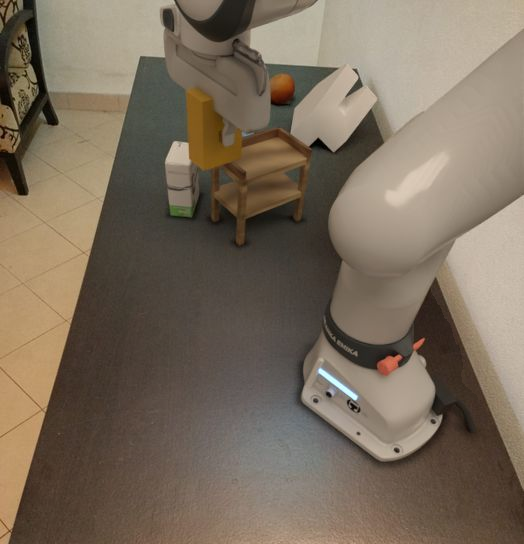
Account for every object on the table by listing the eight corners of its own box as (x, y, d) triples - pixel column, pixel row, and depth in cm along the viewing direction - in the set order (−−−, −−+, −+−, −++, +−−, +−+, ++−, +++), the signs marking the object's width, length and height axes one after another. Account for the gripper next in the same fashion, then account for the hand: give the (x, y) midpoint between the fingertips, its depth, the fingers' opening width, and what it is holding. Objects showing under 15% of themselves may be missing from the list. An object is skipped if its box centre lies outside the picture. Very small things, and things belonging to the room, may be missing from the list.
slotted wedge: (321, 163, 120) (378, 111, 109) (290, 133, 115) (346, 76, 104) (323, 137, 129) (376, 86, 117) (294, 108, 124) (346, 52, 112)
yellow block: (241, 158, 73) (244, 90, 65) (203, 171, 70) (202, 101, 62) (226, 147, 74) (227, 79, 67) (188, 158, 71) (185, 89, 64)
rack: (301, 219, 99) (312, 149, 87) (239, 245, 92) (242, 172, 80) (271, 196, 103) (279, 126, 91) (211, 219, 97) (210, 146, 85)
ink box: (192, 218, 96) (190, 165, 87) (169, 215, 96) (163, 162, 87) (199, 195, 102) (198, 142, 93) (177, 192, 102) (173, 139, 93)
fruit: (301, 103, 130) (289, 75, 124) (275, 116, 133) (262, 89, 127) (300, 91, 135) (288, 63, 129) (275, 103, 138) (263, 77, 132)
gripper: (288, 52, 55) (276, 162, 66) (192, -1, 64) (196, 103, 75) (245, 62, 52) (240, 175, 63) (152, 5, 62) (161, 112, 72)
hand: (215, 135), depth 69 cm, fingers closed on yellow block, 4 cm apart
